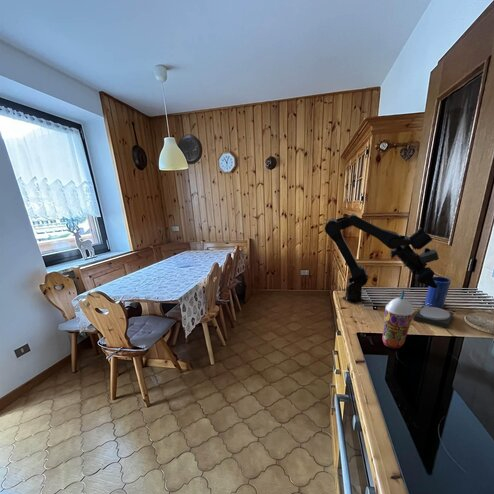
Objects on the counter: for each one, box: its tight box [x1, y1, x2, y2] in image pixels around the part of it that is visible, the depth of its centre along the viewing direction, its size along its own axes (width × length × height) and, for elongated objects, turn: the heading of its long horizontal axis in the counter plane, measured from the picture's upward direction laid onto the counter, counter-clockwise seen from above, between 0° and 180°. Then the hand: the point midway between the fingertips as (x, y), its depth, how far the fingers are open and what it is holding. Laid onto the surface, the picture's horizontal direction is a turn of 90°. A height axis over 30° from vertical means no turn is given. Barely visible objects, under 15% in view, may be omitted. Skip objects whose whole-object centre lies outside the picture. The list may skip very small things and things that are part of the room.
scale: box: [413, 305, 455, 329], centre depth 111 cm, size 11×11×3 cm
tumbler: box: [424, 276, 452, 309], centre depth 120 cm, size 7×7×12 cm
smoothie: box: [381, 289, 415, 349], centre depth 93 cm, size 8×8×20 cm
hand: (432, 283), depth 118 cm, fingers open, 9 cm apart
